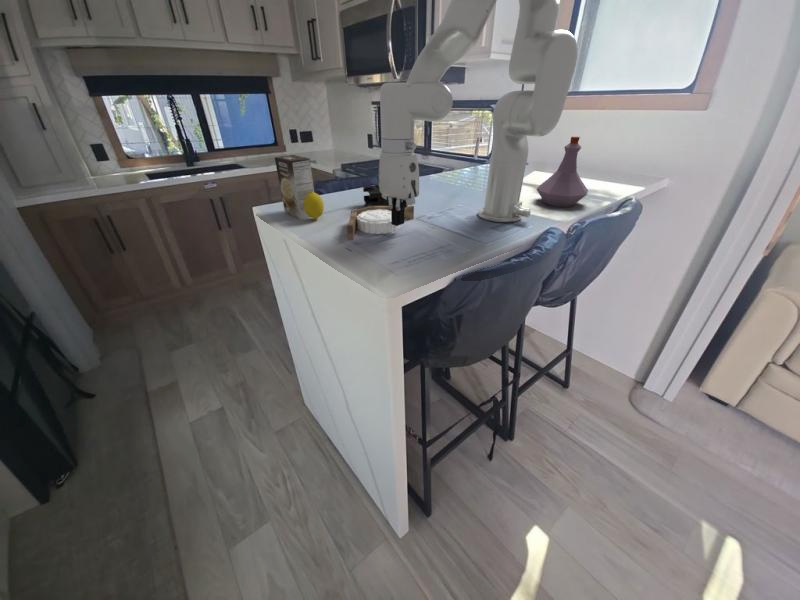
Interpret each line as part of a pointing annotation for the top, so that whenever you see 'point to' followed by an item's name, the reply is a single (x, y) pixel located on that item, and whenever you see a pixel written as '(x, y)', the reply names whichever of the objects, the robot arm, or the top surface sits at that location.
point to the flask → (564, 180)
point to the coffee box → (294, 183)
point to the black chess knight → (374, 196)
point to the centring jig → (353, 222)
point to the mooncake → (376, 222)
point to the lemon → (313, 205)
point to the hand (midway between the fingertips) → (398, 223)
